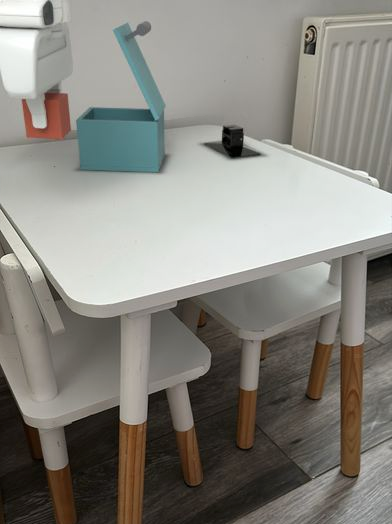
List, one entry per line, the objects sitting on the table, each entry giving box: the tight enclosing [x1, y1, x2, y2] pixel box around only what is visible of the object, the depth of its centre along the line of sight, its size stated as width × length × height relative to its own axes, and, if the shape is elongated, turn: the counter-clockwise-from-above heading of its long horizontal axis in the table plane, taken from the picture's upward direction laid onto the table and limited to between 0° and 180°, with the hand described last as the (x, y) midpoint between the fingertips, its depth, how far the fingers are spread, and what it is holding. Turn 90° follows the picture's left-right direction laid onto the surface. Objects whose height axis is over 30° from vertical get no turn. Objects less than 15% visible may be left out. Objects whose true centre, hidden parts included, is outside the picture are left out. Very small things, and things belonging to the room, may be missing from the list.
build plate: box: [204, 124, 262, 160], centre depth 117 cm, size 12×7×5 cm, turn 26°
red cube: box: [21, 92, 72, 140], centre depth 77 cm, size 5×5×5 cm
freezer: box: [75, 106, 166, 173], centre depth 106 cm, size 15×12×9 cm
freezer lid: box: [112, 20, 166, 121], centre depth 99 cm, size 15×12×5 cm
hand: (47, 121), depth 78 cm, fingers closed on red cube, 5 cm apart
